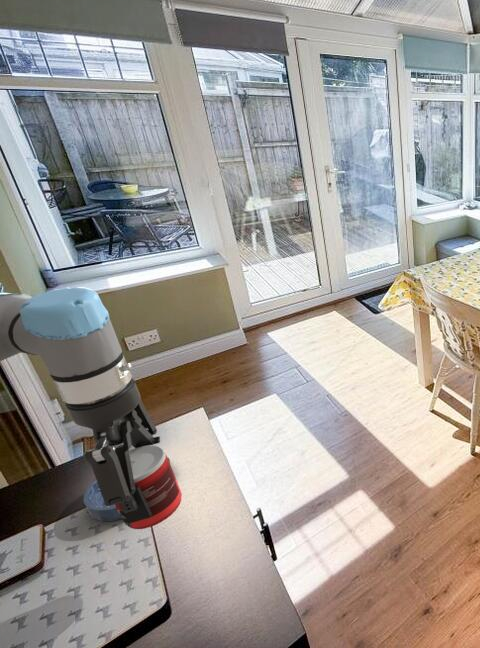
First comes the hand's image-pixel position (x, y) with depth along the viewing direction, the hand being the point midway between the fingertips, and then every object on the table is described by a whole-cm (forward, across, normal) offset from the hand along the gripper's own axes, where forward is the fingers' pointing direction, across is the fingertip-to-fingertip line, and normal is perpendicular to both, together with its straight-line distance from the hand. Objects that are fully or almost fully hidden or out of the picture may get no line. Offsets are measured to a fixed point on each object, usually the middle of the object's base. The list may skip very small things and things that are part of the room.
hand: (148, 496), depth 70 cm
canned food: (+3, 0, 0) cm, 3 cm away
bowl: (+14, +17, +10) cm, 24 cm away
